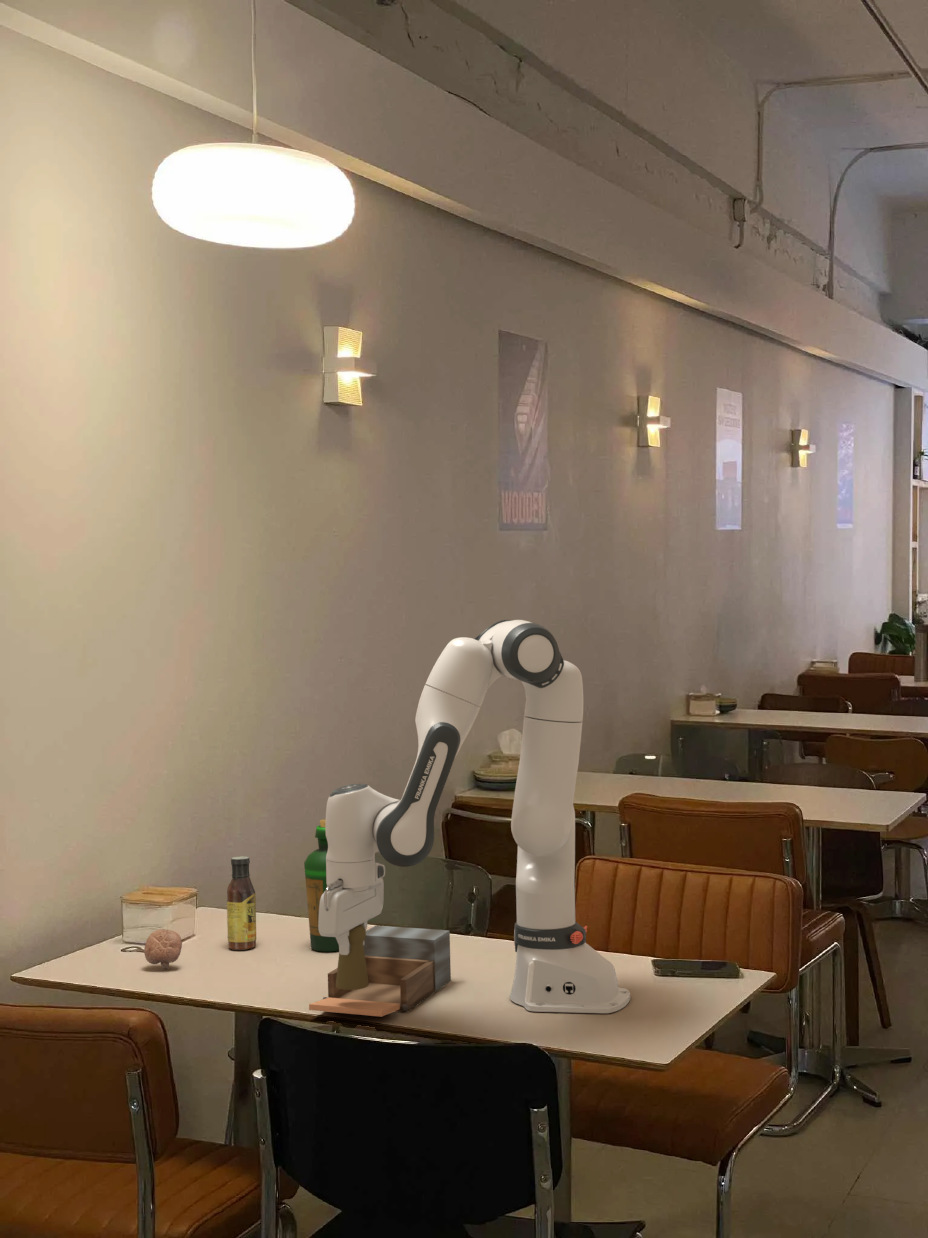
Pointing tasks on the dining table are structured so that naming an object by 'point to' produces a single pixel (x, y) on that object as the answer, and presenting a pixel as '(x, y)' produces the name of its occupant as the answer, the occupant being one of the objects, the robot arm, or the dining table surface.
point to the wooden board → (354, 1006)
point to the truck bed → (401, 966)
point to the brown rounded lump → (163, 947)
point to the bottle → (318, 891)
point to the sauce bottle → (241, 906)
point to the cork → (353, 963)
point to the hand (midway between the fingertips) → (351, 950)
